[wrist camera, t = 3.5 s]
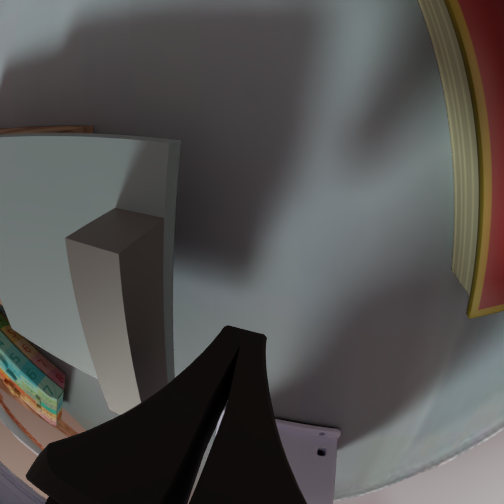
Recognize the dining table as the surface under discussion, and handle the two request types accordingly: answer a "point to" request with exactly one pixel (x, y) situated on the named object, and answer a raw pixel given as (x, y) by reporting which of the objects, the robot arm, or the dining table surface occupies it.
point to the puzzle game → (30, 374)
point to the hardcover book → (474, 139)
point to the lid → (92, 254)
